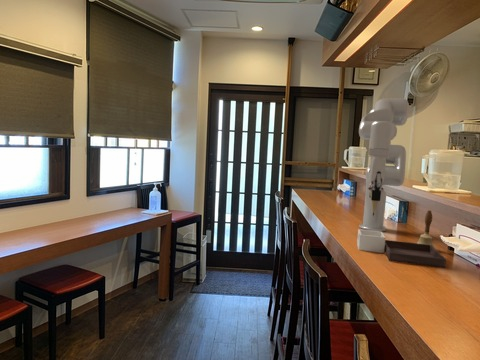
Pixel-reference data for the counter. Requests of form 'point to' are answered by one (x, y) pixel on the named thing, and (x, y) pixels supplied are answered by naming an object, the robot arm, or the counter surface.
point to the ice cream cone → (374, 203)
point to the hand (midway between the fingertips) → (374, 198)
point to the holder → (371, 241)
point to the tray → (413, 253)
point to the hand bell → (427, 231)
